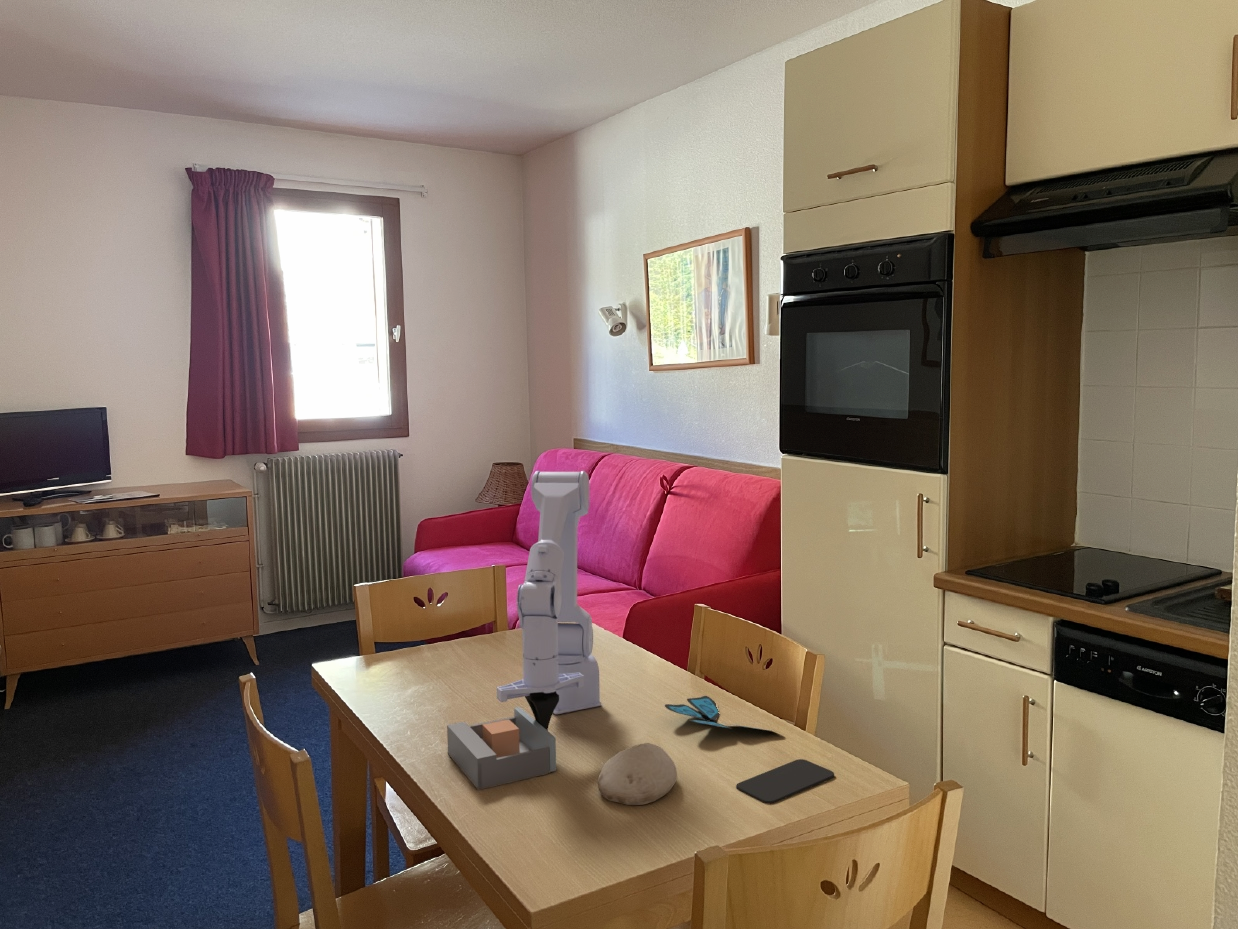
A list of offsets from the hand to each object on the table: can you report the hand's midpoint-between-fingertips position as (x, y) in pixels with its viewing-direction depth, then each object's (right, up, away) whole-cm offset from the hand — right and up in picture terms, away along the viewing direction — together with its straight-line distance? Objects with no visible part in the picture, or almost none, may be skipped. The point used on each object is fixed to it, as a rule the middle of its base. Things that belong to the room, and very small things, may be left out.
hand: (542, 736), depth 149 cm
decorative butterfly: (+29, -2, +11) cm, 31 cm away
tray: (-7, -3, -3) cm, 8 cm away
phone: (+38, -4, -11) cm, 39 cm away
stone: (+15, -4, -12) cm, 20 cm away
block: (-6, -3, -3) cm, 7 cm away
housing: (-7, -3, -3) cm, 8 cm away
